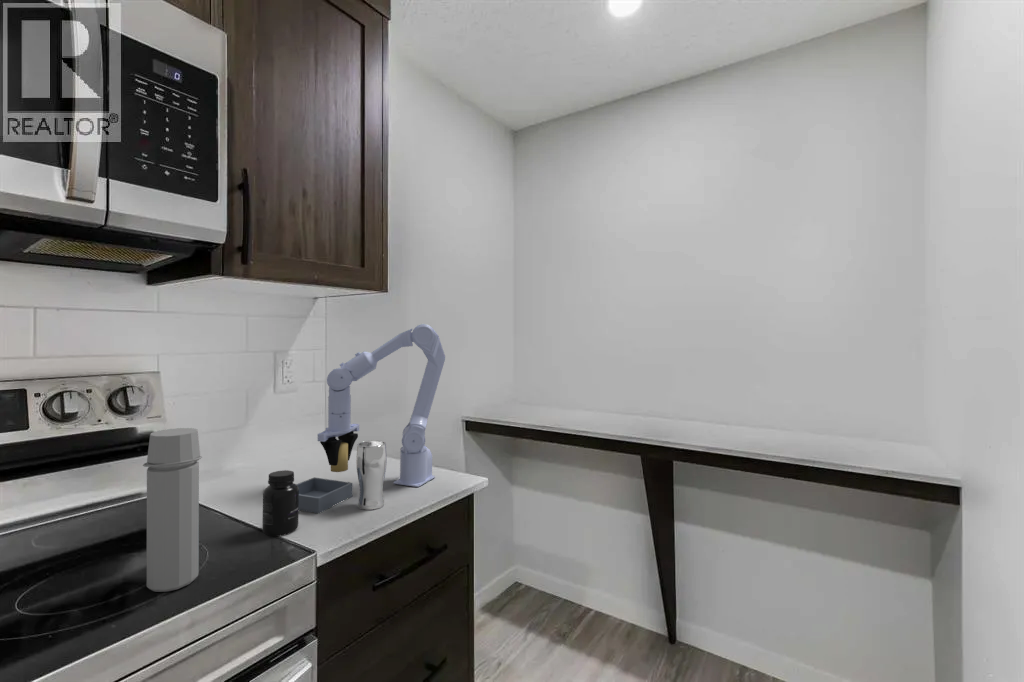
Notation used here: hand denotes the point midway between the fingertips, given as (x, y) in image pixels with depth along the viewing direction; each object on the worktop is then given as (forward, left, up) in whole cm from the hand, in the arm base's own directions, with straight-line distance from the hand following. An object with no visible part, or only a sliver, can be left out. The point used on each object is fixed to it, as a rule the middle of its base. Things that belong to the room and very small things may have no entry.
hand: (339, 462), depth 128 cm
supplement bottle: (+28, +8, -6) cm, 30 cm away
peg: (0, 0, -2) cm, 2 cm away
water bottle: (+50, +7, -6) cm, 51 cm away
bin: (+12, +3, -6) cm, 14 cm away
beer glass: (+9, +17, -6) cm, 20 cm away
